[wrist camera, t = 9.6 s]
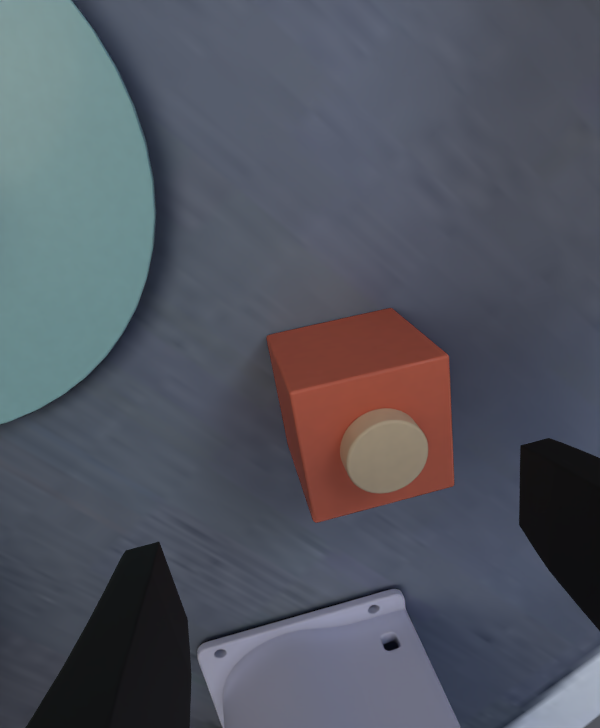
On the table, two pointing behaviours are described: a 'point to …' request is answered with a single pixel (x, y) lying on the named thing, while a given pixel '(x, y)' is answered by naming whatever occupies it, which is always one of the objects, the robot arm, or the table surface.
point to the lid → (65, 203)
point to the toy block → (364, 411)
